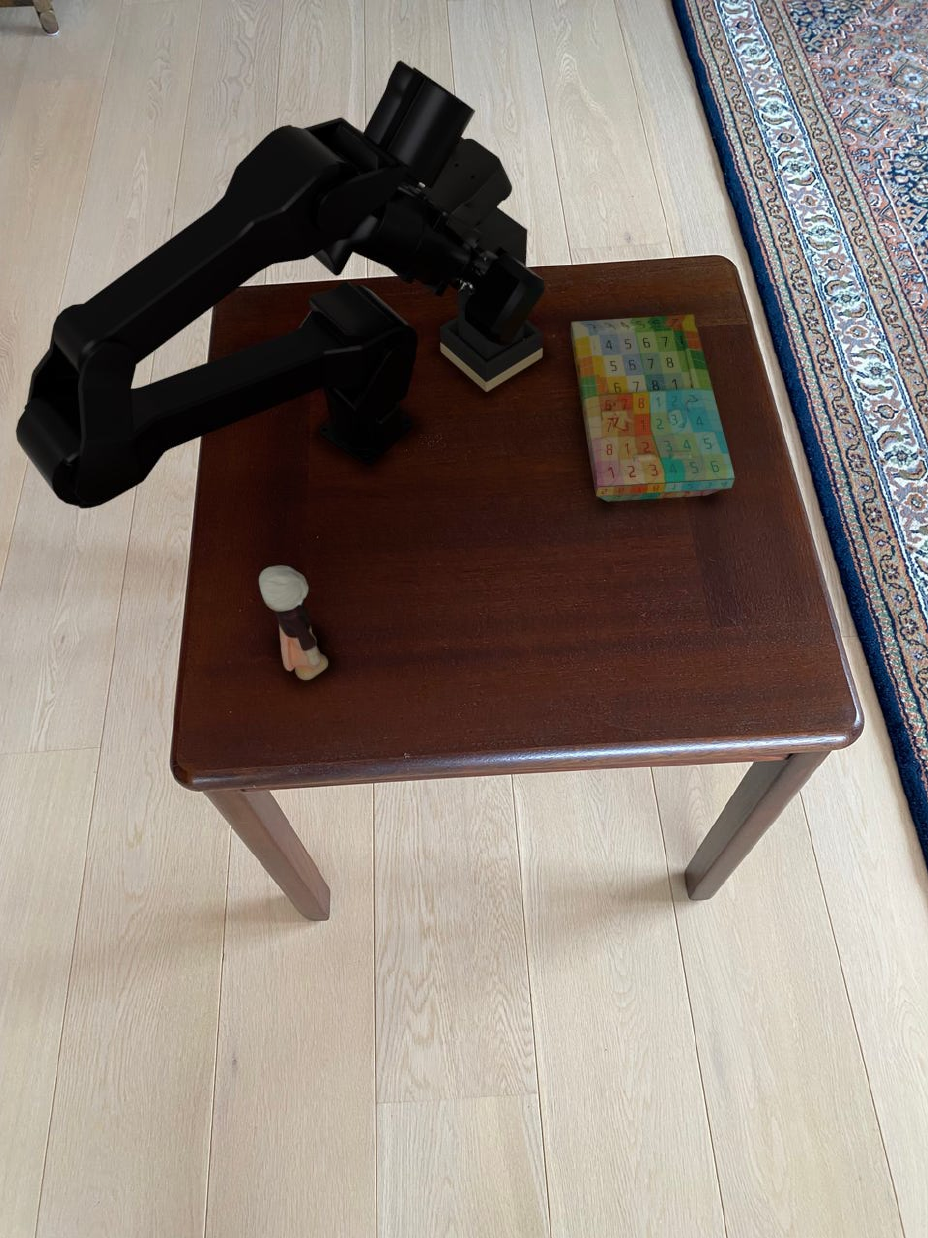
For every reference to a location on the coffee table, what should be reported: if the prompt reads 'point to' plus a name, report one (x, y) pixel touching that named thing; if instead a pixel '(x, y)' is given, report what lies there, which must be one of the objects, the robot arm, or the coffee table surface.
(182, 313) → the robot arm
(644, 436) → the puzzle game
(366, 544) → the coffee table surface
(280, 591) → the grandmother figurine
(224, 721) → the coffee table surface
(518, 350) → the base pad
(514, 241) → the pad block
